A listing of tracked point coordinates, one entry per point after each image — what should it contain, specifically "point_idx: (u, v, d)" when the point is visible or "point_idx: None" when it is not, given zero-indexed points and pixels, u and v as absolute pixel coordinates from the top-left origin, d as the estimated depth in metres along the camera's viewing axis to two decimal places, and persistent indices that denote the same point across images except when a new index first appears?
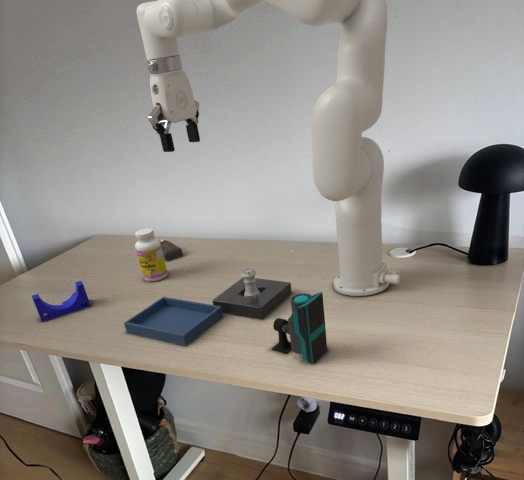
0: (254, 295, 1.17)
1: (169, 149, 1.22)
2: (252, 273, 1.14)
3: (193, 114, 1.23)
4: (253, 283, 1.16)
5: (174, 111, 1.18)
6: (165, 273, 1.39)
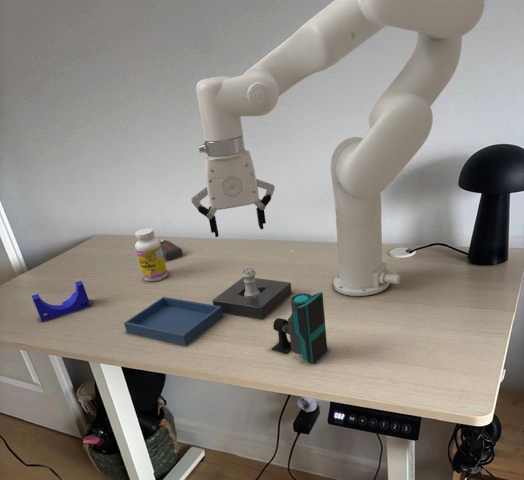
0: (254, 295, 1.17)
1: None
2: (252, 273, 1.14)
3: (250, 202, 1.06)
4: (253, 283, 1.16)
5: (217, 198, 1.05)
6: (165, 273, 1.39)
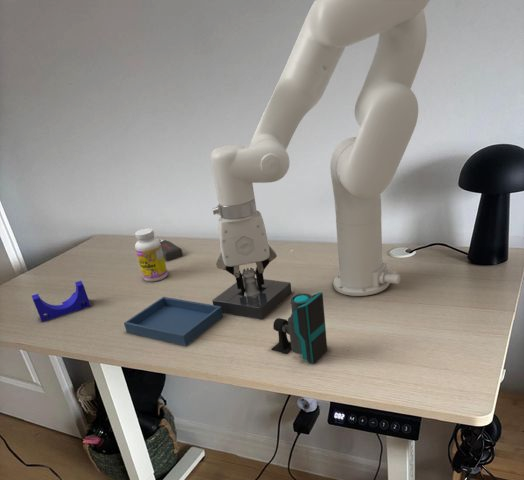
0: (254, 295, 1.17)
1: (241, 290, 1.17)
2: (252, 273, 1.14)
3: (261, 259, 1.11)
4: (253, 283, 1.16)
5: (230, 257, 1.10)
6: (165, 273, 1.39)
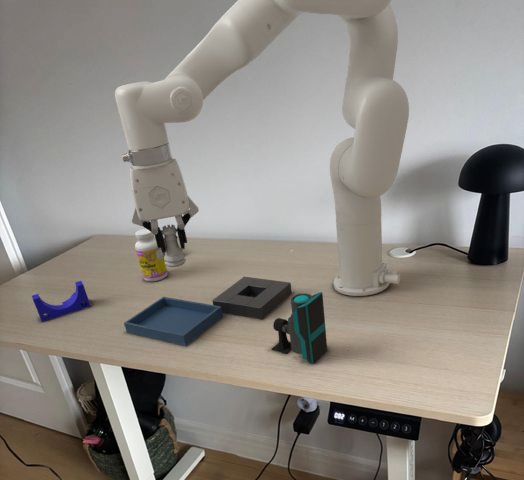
0: (175, 255, 1.06)
1: None
2: (172, 230, 1.04)
3: (180, 212, 1.01)
4: (174, 242, 1.06)
5: (145, 209, 1.00)
6: (165, 273, 1.39)
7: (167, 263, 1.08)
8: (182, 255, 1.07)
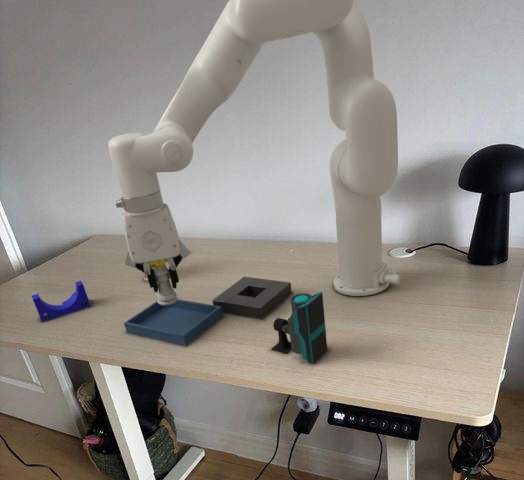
0: (167, 294, 1.10)
1: None
2: (164, 271, 1.08)
3: (171, 255, 1.04)
4: (166, 282, 1.09)
5: (137, 253, 1.03)
6: None
7: (159, 302, 1.11)
8: (174, 294, 1.11)
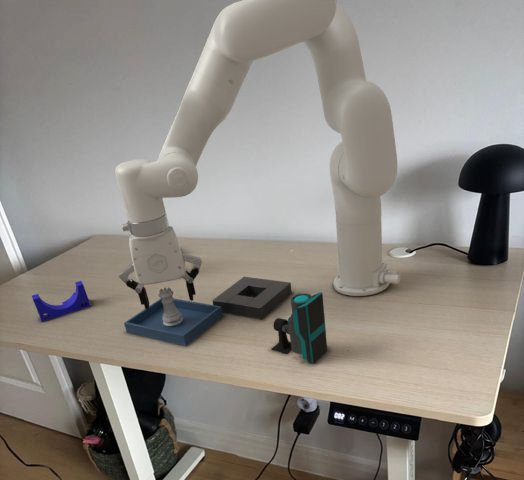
0: (172, 316, 1.12)
1: None
2: (168, 293, 1.10)
3: (177, 276, 1.07)
4: (171, 304, 1.12)
5: (143, 275, 1.06)
6: None
7: (165, 323, 1.14)
8: (179, 315, 1.13)
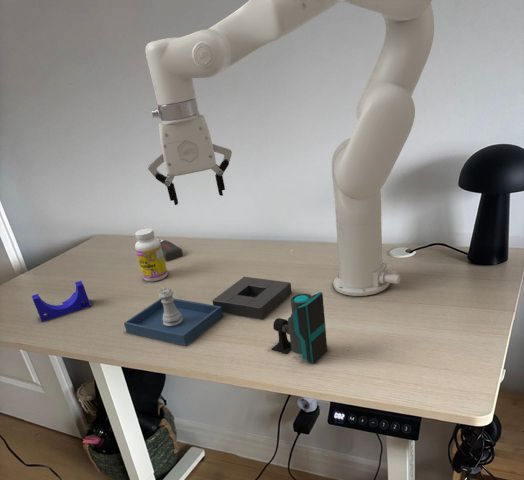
0: (172, 316, 1.12)
1: None
2: (168, 293, 1.10)
3: (207, 167, 1.05)
4: (171, 304, 1.12)
5: (174, 164, 1.04)
6: (165, 273, 1.39)
7: (165, 323, 1.14)
8: (179, 315, 1.13)
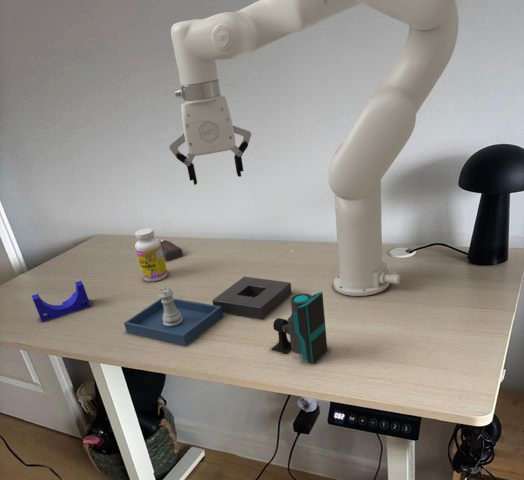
0: (172, 316, 1.12)
1: None
2: (168, 293, 1.10)
3: (227, 147, 1.07)
4: (171, 304, 1.12)
5: (194, 144, 1.06)
6: (165, 273, 1.39)
7: (165, 323, 1.14)
8: (179, 315, 1.13)
